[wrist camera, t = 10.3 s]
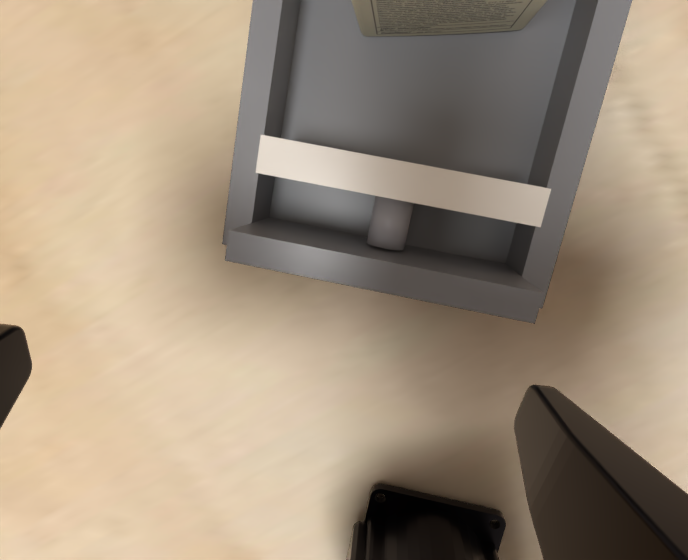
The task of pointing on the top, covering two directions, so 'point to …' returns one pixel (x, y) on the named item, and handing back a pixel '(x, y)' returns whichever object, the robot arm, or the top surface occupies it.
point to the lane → (419, 145)
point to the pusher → (401, 187)
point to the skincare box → (442, 16)
